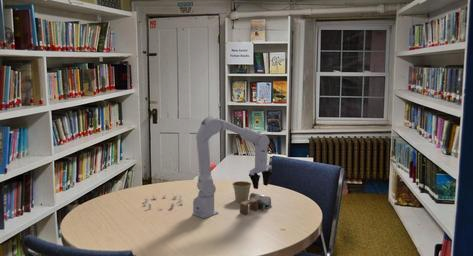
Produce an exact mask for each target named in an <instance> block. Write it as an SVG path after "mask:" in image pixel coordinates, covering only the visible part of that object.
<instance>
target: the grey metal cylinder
mask: <svg viewBox="0 0 473 256" xmlns="http://www.w3.org/2000/svg"><path fill="white" fill-rule="evenodd" d="M249 194H250V195H249V196H248V200H249V199H252V198H253V199H256V200H258V202H259V203H262V204H265V205H269V204H270V203H271V204H272V198H271V196H267V195H263V194H260V193H259V194H258V193H255V192H251V193H249Z"/></svg>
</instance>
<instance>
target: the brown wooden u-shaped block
mask: <svg viewBox="0 0 473 256" xmlns="http://www.w3.org/2000/svg"><path fill="white" fill-rule="evenodd" d="M249 205H250V207H249ZM249 210H250V211H254V212H257V211H259V209H258V200H256V199H253V198H252V199H249V198H248V200H247V201H244V202H239V214H240V215H243V216H248V215H249Z"/></svg>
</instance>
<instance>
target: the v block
mask: <svg viewBox="0 0 473 256" xmlns="http://www.w3.org/2000/svg"><path fill="white" fill-rule="evenodd" d="M272 207H273V206H272V202H271V203H270V204H269V205H265V204H262V203H259V202H258V211H262V212H263V211H266V210H268V209H270V208H272ZM248 208H250V205H248Z"/></svg>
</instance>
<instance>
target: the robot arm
mask: <svg viewBox="0 0 473 256" xmlns="http://www.w3.org/2000/svg"><path fill="white" fill-rule="evenodd" d="M199 126H200V127H199V129H198V130H197V132H196V136H195V138H196V150H197V161H198V169H199V173H198V174H199V175H198V179H197V180H198V181H197V184H196V187H197V189H198V195H197V196H196V197H195V198H194V199H193V203H192V206H193V207H192V208H193V209H192V210H193V212H192V213H191V214H192V215H193V216H196V217H199V218H202V219H205V218H209V217H211V216H214V215H216V214H219V211H217V210H215V194H216V188H217V187H216V185H215V183H214V180H213V177H212V171H211V161H210V160H211V159H210V151H209V149H210V148H209V140H210V138H212V137H213V136H214V135H216V134H218V133H219V132H224V131H225V130H226V131H230V132H231V133H234V134H238V135H239V136H240V138H241V139H242V140H244V141H247V142H250V143H252V144H254V167H253V168H252V169H250V170H249V173H248V176H249V178H250V180H251V182H252V183H251V185H252V186H253V189H254V190H258V189H259V186H260V185H259V184H260V183H259V182H260V179H261V176H262V185H263V186H266V187H267V186H268V185H269V182H270V178H271V176H272V174H273V170H272V165H270V164H268V146H269V144H270V142H271V141H270V139H269V137H268V135H266V134H264V133H261V131H259V130H258V131H257V130H254V129H253V128H252V127H251V126H248V127H247V126H245V127H243V128H242V127H240V126H238V125H235V124H233V123H231V122H229V121H227V120H224V119H220V118H214V117H212V116H207V117H206V118H204V119H203V120H202V121H201V122H200V125H199ZM260 173H261V174H262V175H260Z"/></svg>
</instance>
